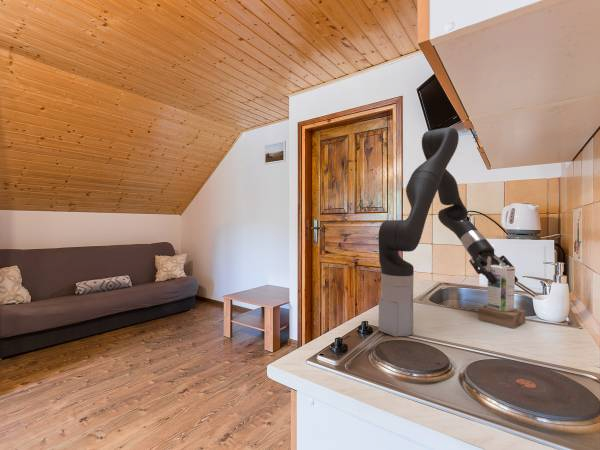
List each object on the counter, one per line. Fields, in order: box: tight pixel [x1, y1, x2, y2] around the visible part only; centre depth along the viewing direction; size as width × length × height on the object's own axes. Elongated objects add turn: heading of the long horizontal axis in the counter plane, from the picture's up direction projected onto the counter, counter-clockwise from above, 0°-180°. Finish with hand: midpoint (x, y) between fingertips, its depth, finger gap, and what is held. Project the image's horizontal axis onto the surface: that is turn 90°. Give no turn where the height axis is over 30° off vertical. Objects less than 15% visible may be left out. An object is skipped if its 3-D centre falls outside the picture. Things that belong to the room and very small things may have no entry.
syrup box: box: [486, 264, 516, 312], centre depth 97 cm, size 6×6×14 cm
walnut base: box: [477, 304, 526, 329], centre depth 97 cm, size 10×10×4 cm
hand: (505, 282), depth 96 cm, fingers open, 8 cm apart
